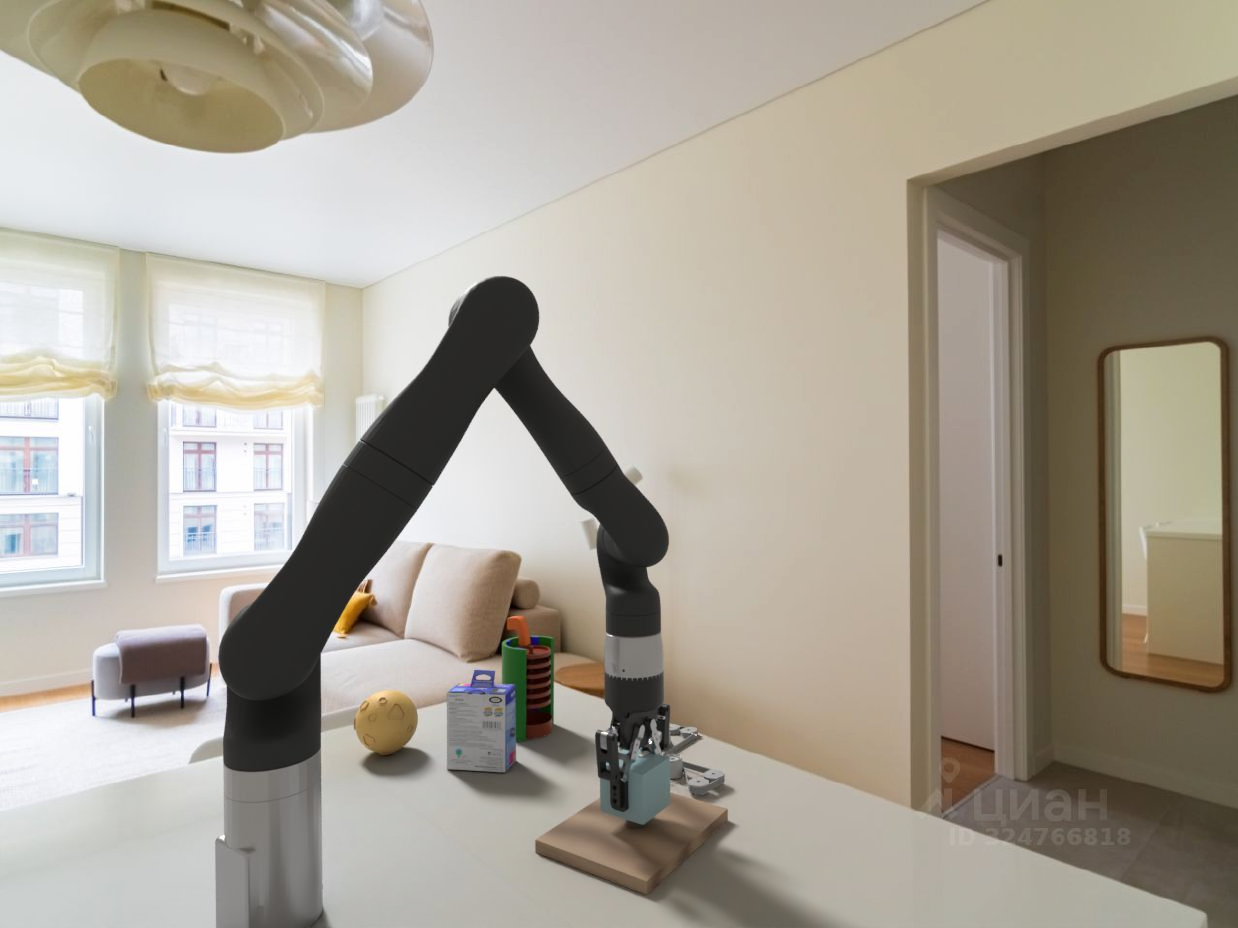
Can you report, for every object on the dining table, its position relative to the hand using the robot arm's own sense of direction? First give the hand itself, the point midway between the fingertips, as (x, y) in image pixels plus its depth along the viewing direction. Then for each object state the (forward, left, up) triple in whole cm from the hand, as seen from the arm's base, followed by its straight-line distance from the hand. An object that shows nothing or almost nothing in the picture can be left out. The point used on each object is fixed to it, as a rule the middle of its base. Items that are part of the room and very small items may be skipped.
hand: (635, 797), depth 93 cm
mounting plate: (0, 0, -5) cm, 5 cm away
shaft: (+1, 0, -3) cm, 3 cm away
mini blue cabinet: (0, 0, -1) cm, 1 cm away
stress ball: (0, +49, -5) cm, 49 cm away
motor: (+20, +36, -5) cm, 42 cm away
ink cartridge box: (+5, +32, -5) cm, 33 cm away
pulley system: (+22, +9, -5) cm, 24 cm away
